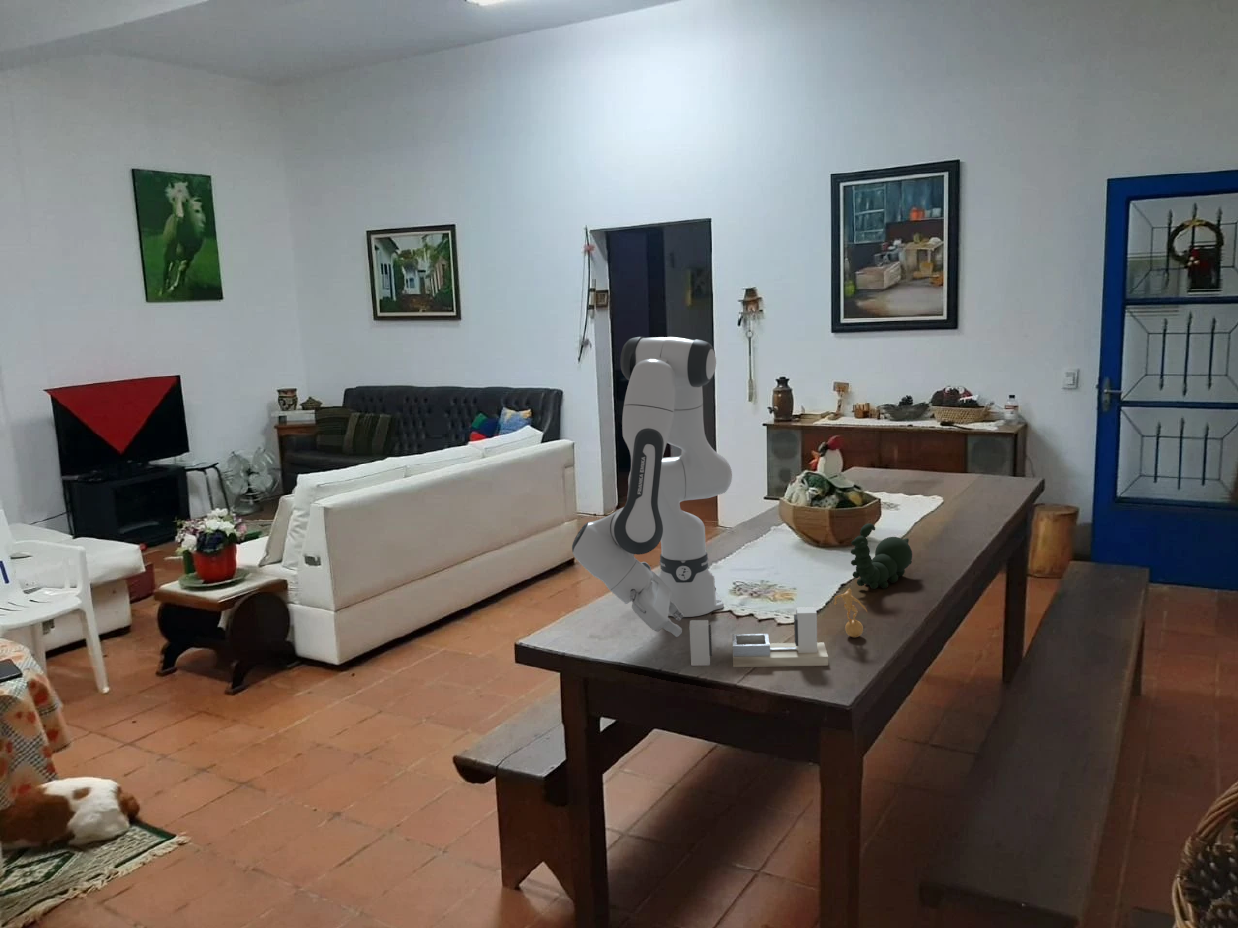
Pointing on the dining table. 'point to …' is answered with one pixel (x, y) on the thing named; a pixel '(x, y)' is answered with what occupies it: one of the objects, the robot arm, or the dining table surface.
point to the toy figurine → (880, 559)
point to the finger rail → (782, 646)
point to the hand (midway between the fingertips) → (680, 625)
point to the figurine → (852, 626)
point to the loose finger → (700, 642)
